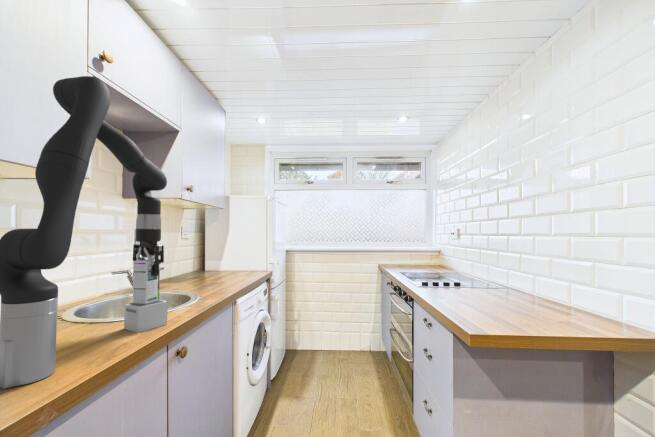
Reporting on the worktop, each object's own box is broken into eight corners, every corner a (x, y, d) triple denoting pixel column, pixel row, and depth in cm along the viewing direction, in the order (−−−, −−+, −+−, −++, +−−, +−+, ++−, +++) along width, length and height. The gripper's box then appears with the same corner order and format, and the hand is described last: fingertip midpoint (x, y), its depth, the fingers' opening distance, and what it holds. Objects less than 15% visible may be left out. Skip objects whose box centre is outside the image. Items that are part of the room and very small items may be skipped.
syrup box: (146, 304, 101) (147, 260, 102) (131, 303, 102) (133, 260, 103) (159, 300, 107) (160, 259, 107) (145, 299, 108) (146, 258, 109)
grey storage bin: (137, 332, 98) (137, 306, 98) (123, 328, 102) (124, 303, 102) (167, 324, 107) (168, 300, 107) (154, 320, 111) (154, 297, 111)
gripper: (125, 227, 106) (124, 274, 105) (150, 227, 99) (148, 278, 98) (147, 227, 112) (146, 272, 112) (171, 227, 105) (170, 275, 105)
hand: (147, 274), depth 105 cm, fingers open, 8 cm apart
